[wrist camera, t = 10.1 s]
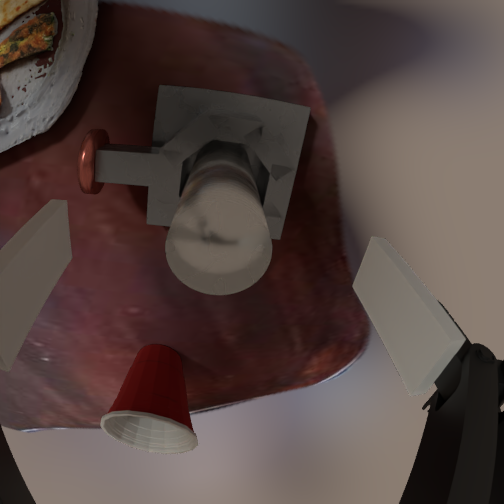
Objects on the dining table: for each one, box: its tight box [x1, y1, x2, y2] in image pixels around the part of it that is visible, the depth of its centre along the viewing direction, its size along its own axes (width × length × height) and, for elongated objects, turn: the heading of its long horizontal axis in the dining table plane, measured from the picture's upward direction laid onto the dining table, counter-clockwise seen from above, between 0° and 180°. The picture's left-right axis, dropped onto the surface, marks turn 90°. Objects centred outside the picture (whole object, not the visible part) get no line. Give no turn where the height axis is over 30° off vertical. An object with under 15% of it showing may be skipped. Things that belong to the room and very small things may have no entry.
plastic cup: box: [100, 344, 198, 454], centre depth 33 cm, size 11×11×12 cm
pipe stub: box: [165, 140, 272, 295], centre depth 19 cm, size 4×4×14 cm
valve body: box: [78, 85, 311, 240], centre depth 24 cm, size 12×16×7 cm
